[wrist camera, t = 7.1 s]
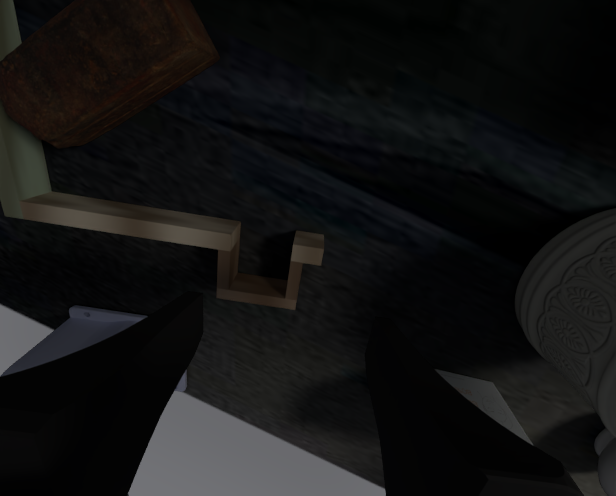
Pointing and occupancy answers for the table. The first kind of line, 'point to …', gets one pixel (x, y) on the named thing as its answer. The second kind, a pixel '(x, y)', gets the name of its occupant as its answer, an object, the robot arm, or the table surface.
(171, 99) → the table surface
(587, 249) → the jar
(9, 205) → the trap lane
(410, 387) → the robot arm
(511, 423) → the small box
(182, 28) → the brick
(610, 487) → the flower vase
